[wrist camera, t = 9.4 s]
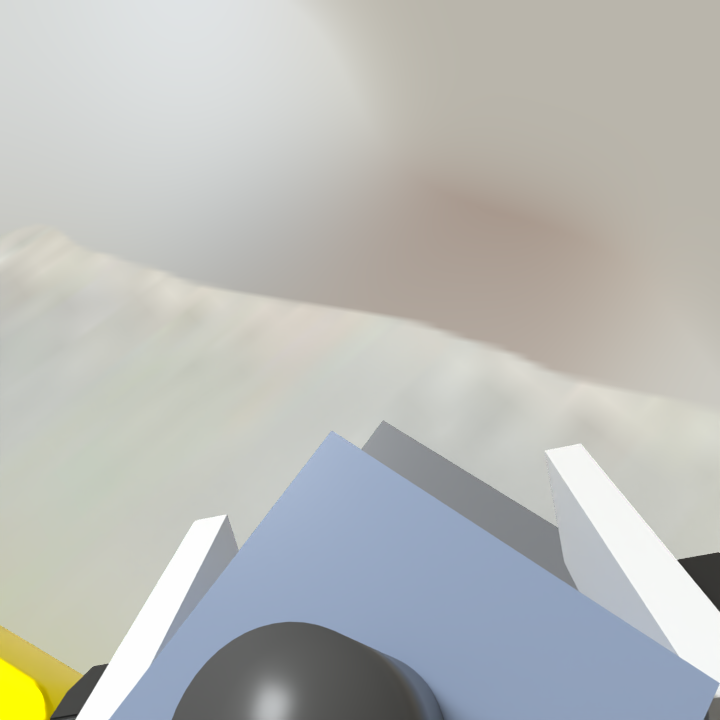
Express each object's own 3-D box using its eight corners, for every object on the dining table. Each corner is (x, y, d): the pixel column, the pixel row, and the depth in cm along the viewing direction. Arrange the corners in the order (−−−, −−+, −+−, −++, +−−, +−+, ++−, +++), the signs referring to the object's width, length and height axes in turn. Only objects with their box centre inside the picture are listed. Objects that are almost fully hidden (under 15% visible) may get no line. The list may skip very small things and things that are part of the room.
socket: (184, 750, 23) (130, 758, 19) (396, 456, 27) (383, 420, 23) (515, 1116, 17) (523, 1223, 13) (721, 663, 21) (767, 656, 17)
